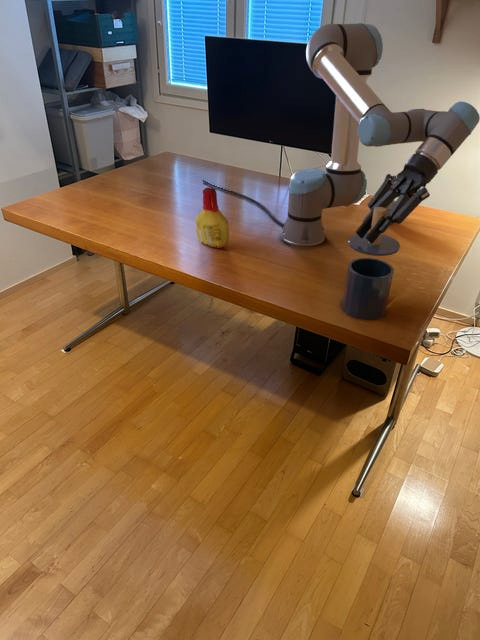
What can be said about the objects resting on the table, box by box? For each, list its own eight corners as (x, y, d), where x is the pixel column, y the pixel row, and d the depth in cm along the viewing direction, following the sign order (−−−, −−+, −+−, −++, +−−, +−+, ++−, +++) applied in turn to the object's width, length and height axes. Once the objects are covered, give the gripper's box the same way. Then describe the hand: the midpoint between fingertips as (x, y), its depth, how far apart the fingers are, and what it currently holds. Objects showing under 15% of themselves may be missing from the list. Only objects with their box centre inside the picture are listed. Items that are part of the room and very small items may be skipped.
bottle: (192, 244, 165) (190, 187, 154) (203, 237, 170) (201, 181, 159) (222, 252, 160) (221, 193, 149) (232, 245, 165) (232, 188, 154)
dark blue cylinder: (334, 308, 132) (339, 268, 125) (355, 292, 139) (362, 253, 132) (372, 324, 125) (380, 283, 118) (392, 307, 133) (401, 267, 126)
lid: (338, 247, 123) (343, 209, 117) (363, 232, 131) (369, 196, 125) (384, 263, 116) (392, 223, 110) (407, 246, 124) (416, 208, 118)
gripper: (457, 180, 114) (392, 258, 116) (408, 163, 126) (349, 234, 128) (447, 160, 109) (379, 242, 111) (396, 144, 120) (336, 219, 123)
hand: (363, 237), depth 120 cm, fingers closed on lid, 3 cm apart
